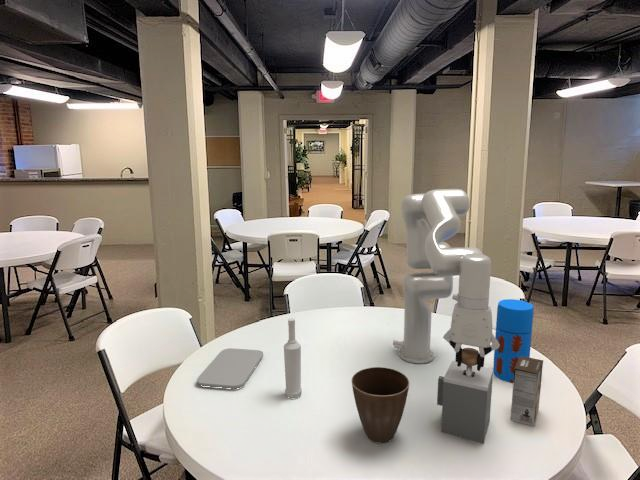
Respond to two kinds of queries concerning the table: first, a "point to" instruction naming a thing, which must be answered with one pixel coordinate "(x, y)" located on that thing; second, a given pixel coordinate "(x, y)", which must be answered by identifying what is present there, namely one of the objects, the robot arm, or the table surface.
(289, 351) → the bottle
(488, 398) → the block
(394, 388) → the plant pot
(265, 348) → the table surface
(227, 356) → the tablet
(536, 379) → the coffee box
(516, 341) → the thermos
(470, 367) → the plunger
